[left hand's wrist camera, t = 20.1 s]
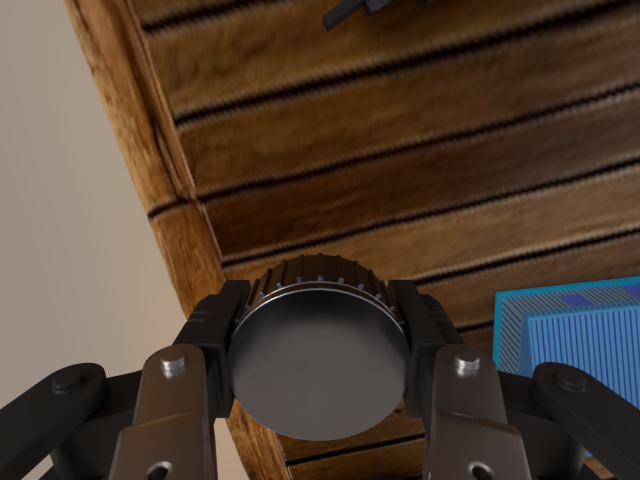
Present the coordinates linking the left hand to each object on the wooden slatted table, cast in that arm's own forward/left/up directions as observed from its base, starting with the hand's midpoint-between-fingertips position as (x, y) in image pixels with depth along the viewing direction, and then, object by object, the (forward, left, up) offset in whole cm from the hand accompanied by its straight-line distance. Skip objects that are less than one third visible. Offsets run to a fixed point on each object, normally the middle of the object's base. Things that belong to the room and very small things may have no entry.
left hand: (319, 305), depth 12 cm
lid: (0, 0, +3) cm, 3 cm away
